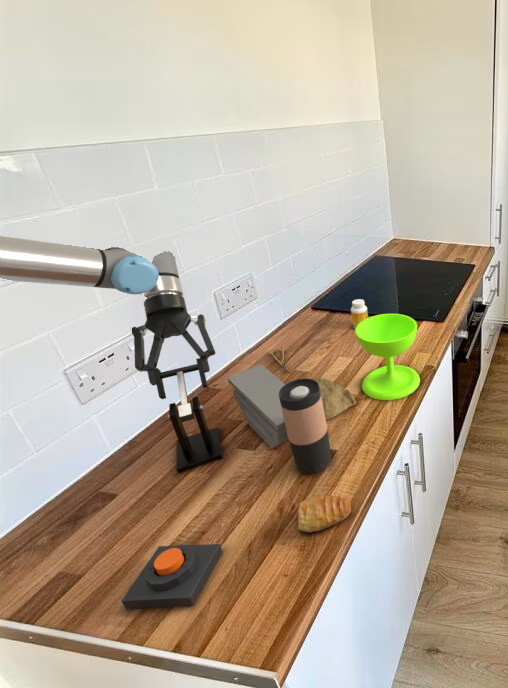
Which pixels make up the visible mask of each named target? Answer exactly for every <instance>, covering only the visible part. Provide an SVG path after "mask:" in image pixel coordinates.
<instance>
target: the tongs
mask: <svg viewBox="0 0 508 688" xmlns="http://www.w3.org/2000/svg"><path fill="white" fill-rule="evenodd" d="M278 350H279V351H280V352H281V353H282V359H281V361H280V360H279V359H278V358H277V357H276V356H275V355H274V352H275V349H274V350H272V351H269V352H268V353H269V355H270V356H271V357H273V359H274V360H275V361H276V362H277V363H278V364H279V365H280V367H281V368H282V370H283V371H284V373H287V371H286V366H285V348H284V347H283V348H281V349H280V348H278Z"/></svg>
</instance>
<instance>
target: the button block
mask: <svg viewBox="0 0 508 688" xmlns="http://www.w3.org/2000/svg"><path fill="white" fill-rule="evenodd" d="M171 548H178V549H180V550H181V552H182V554H183V556H184V563H183V565H182V566H181V567H180V568H179V569H178V570H177V571H176V572H174V573H173V574H170V575H168V576H160V575H158V573H157V571H156V569H155V567H154V562H155V560H156V558H157V557H158V556H159V555H160V554H161V553H163V552H164V551H166V550H168V549H171ZM223 552H224V551H223V548H222V545H221V544H220V543H210V544H209V543H208V544H207V543H206V544H177V545H161V546H160V545H159V546H157V549H156V550H155V551H154V553H153V554H152V556H151V557H150V559H149V560H148V561H147V563H146V564H145V566H144V567H143V568H142V570H141V571H140V573H139V574H138V576H137V577H136V579H135V580H134V581H133V582H132V584H131V586H130V587H129V589H128V590H127V592H126V594H125V595H124V596H123V598H122V599H121V603H122V605H123V607H124V608H125V610H136V609H155V608H174V607H175V608H176V607H193V606H195V603H196V602H197V600H198V598H199V597H200V595H201V592H202V591H203V589H204V587H205V585H206V584H207V582H208V580H209V578H210V576H211V574H212V572H213V571H214V569H215V567H216V565H217V563H218V561H219V560H220V558H221V556H222V554H223Z"/></svg>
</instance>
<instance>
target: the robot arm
mask: <svg viewBox="0 0 508 688" xmlns="http://www.w3.org/2000/svg"><path fill="white" fill-rule="evenodd" d="M4 236H5V235H0V278H2V279H7V280H12V281H11V282H18V283H19V282H21V283H35V284H48V285H61V286H75V287H76V286H77V287H90V288H99V289H111V290H112V289H113V290H117V291H119V292H121V293H124V294H127V295H128V294H129V295H142V293H145V294H144V296H145V297H147V299H146V300H145V301H143V307H145V308H144V312H145V317H146V320H145V322H144V324H143V325H140V326H132V327H133V328H132V327H131V328H132V332H131V334H132V336H133V347H134V349H133V350H134V368H135V369H136V370H137V371H138V372H140V373H141V372H142V373H143V372H146V373H147V377H148V381H149V383H150V385H151V386H156V389H157V394H158V398H160V399H161V400H166V399H167V396H166V390H165V385H164V379H161V378H160V373H161V372H162V371H161V369H159V368H158V367H157V366H158V362H159V359H160V356H161V351H162V349H163V344H164V343H165V339H169V338H171V337H179V336H182V337H183V338H184V340H185V341H186V342H187V344H188V345H189V346H190V348H192V350H194V352H195V353H196V354H197V356H198V357H199V358H196V364H197V365H198V370H197V371H198V374H199V378H200V383H201V386H202V388H203V389H207V388H209V386H208V385H209V384H208V381H207V377H206V374H207V373H209V372H210V371H211V368H210V365H209V360H208V359H209V358H210V357H212V356H215V354H216V350H215V348H214V347H215V346H214V345H213V342H212V340H211V338H210V335H209V333H208V331H207V328H206V318H205V316H204V314H201V313H200V314H198V315H190V313H188V309H187V305H186V300H185V297H184V292H183V287H182V283H181V279H180V275H179V271H178V266H177V262H176V261H177V260H176V256H175V257H174V256H173V254H172V253H171V252H169V251H168V252H167V251H166V252H165V251H164V252H163V253H160V254H158V255H156V256H154V258H153V261H152V263H151V262H149V261H148V260H147V259H146V258H143V257H142V256H138V255H136V254H134V253H131V252H129V251H127V250H125V249H123V248H119V247H111V248H108V249H105V250H100V249H94V248H86V247H79V246H72V245H64V243H56V242H49V241H40V240H35V239H29V238H28V239H26V238H20V237H13V236H6V237H4ZM12 237H13V238H12ZM191 323H193V324H194V325H195V326H197V327H198V330H199V332H200V336H201V337H202V340H203V342H204V344H205V347H206V350H205V351H204V349H202V348H201V346H200V345H199V344H198V343H197V342H196V340H195V339H194V338H193V336H192V335H191V334H190V333H189V331H188V330H187V329H188V327H189V326H190V324H191ZM147 331H150V332H151V333H153V341H152V344H151V347H150V351H149V355H148V359H147V362H146V355H145V354H146V353H145V339H144V336H146V332H147Z"/></svg>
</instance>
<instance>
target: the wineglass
mask: <svg viewBox="0 0 508 688" xmlns="http://www.w3.org/2000/svg"><path fill="white" fill-rule="evenodd" d="M354 331H355V336H356V339H357V341H358V343H359V344H360V346H361V347H362V348H363V350H365V351H366V352H367V353H369V354H371V355H372V356H376V357H380V358H385V363H386V365H384V366H381V367H378V368H376V369H373V370H372V371H371V372H369V373H368V374H366V376H365V377H364V379H363V380H362V384H361V388H362V391H363V393H364V394H365V395H366V396H367V397H368V398H372V399H374V400H380V401H395V400H398V399H399V400H400V399H402V398H406V397H407V396H409V395H411V394H413V393H414V392H415V391H416V390H417V389H418V387H419V386H420V383H421V378H420V375H419V374H418V372H417V371H416V370H415V369H413V368H411V367H409V366H406V365H401V364H394V357H397V356H398V355H401V354H403V353H404V352H406V351H407V350H408V349H409V348H410V347H411V346H412V344H413V343H414V341H415V339H416V337H417V332H418V323H417V321H416V320H415V319H414V318H412V317H410V316H408V315H405V314H402V313H401V314H400V313H382V314H377V315H373V316H370V317H369V316H368V318H367V319H365V320H363V321H361V322H360V323H359V324H358V325H357V327H356V329H355V328H354Z"/></svg>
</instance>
